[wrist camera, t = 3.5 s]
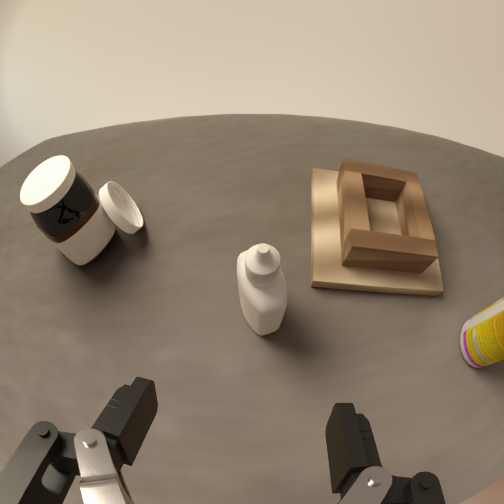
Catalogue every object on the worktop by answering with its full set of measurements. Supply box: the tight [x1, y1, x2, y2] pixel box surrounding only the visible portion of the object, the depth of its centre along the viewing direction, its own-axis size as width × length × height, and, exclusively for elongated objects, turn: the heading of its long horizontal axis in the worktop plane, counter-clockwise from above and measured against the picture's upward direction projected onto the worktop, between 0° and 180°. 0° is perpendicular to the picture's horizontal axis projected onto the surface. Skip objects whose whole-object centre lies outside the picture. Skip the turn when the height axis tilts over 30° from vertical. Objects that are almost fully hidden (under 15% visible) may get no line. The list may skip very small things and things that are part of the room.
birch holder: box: [310, 159, 443, 296], centre depth 30 cm, size 16×16×6 cm
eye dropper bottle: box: [237, 243, 287, 335], centre depth 23 cm, size 4×6×12 cm
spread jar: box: [20, 156, 143, 266], centre depth 28 cm, size 12×11×12 cm
